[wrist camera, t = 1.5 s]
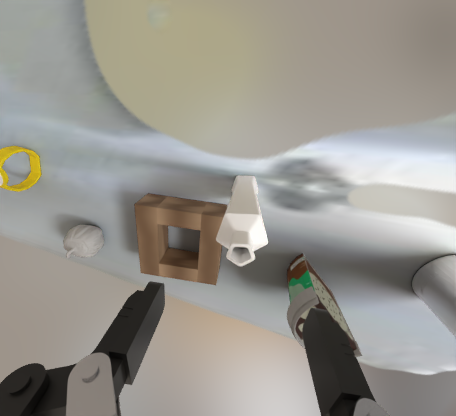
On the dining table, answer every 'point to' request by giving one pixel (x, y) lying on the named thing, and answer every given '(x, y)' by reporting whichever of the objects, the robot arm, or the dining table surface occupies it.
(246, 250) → the white faceted vase
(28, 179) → the watch
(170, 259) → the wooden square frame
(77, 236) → the garlic
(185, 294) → the dining table surface
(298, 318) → the food container
